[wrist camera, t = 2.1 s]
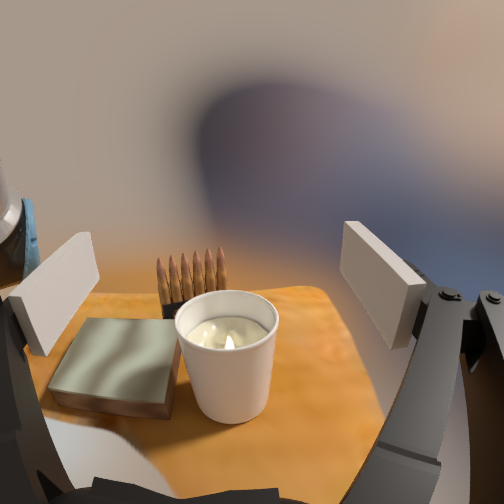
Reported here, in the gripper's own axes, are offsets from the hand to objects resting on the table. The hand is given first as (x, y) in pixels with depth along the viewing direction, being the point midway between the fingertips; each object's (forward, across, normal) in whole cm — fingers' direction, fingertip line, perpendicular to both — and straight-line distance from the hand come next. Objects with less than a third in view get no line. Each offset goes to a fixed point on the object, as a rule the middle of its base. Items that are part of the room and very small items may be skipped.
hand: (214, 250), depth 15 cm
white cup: (+10, 0, -23) cm, 25 cm away
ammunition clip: (+25, -5, -23) cm, 34 cm away
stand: (+14, -15, -23) cm, 30 cm away
